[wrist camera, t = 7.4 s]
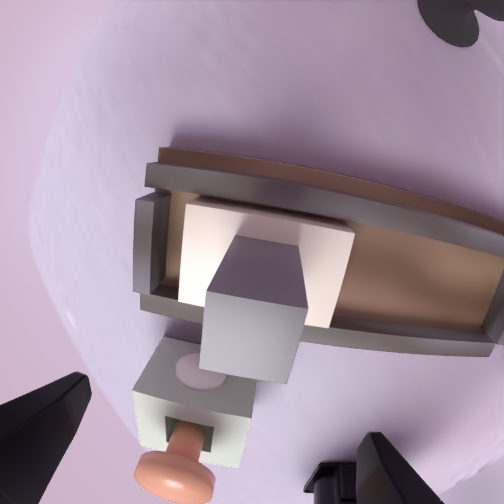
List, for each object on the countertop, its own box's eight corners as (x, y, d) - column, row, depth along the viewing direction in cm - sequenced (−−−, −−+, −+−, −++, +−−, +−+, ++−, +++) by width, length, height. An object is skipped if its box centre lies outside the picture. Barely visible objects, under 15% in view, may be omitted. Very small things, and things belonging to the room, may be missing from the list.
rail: (467, 344, 20) (489, 373, 16) (157, 298, 21) (134, 329, 17) (512, 224, 16) (546, 240, 13) (168, 147, 17) (140, 148, 14)
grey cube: (247, 410, 23) (238, 468, 18) (164, 392, 24) (140, 445, 18) (260, 351, 21) (252, 414, 16) (163, 331, 21) (131, 385, 16)
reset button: (221, 454, 18) (209, 510, 13) (159, 439, 18) (138, 491, 14) (228, 416, 16) (214, 481, 12) (155, 399, 17) (128, 458, 12)
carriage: (324, 309, 18) (345, 411, 10) (188, 285, 18) (133, 373, 10) (346, 223, 16) (397, 287, 8) (196, 197, 16) (128, 240, 9)
